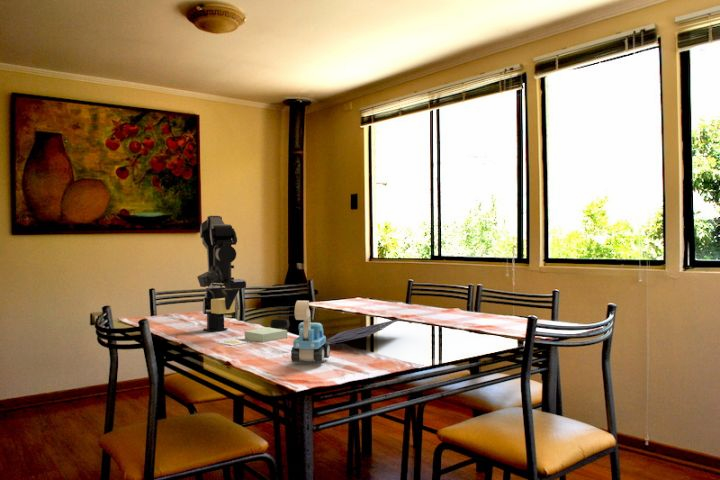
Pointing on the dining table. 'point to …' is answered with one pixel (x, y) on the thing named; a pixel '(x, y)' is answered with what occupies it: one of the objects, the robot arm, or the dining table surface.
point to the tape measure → (279, 323)
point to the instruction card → (232, 342)
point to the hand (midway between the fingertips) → (223, 309)
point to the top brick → (221, 306)
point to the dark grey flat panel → (358, 333)
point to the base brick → (266, 334)
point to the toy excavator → (308, 337)
